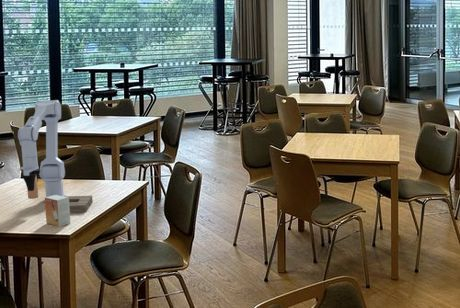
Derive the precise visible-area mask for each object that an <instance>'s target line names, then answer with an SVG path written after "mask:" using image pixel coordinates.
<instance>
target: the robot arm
mask: <svg viewBox="0 0 460 308" xmlns="http://www.w3.org/2000/svg"><path fill="white" fill-rule="evenodd" d="M34 110H35V111H34V114H33V115H32V116H29V118H28V120H27V121H26V122H25V124H24V126H21V127H19V129H18V131H17V139H18V140H19V145H20V146H21V157H22V166H21V167H20V168H19V169H20V170H23V173H22V174H21V178H22V179H23V181H24V182H25V185H26V190H27V189H28V191H34V183H35V177H36V175H37V183H38V180H39V177H40V179H41V180H42V181H43V182H44V190H45V197H49V196H53V195H59V196H67V195H66V194H64V185H63V184H64V183H63V181H62V180H63V179H64V178H65V176H66V170H65V169H66V168H65V162H64V161H63V160H61V159H60V158H59V157H58V151H59V150H58V148H59V147H58V144H59V141H58V132H59V131H58V126H59V125H58V122H59V120H61V119H62V104H61V102H60V101H59V100H58V99H54V100H36V102H35V103H34ZM42 121H44V122H45V123H46V124H45V147H46V148H45V158H44V159H43V160H41V162H40V167H39V161H38V151H37V140H38V137H39V131H40V129H41V128H42V125H43V122H42ZM28 191H27V192H28ZM43 202H44V203H45V199H43Z"/></svg>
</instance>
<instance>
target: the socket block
mask: <svg viewBox="0 0 460 308" xmlns="http://www.w3.org/2000/svg"><path fill="white" fill-rule="evenodd" d="M63 197H69V208H70V214H72V213H75V214H76V213H86V212H88V210H89V208H90V207H91V206H92V204H93V203H94V202H93V195H66V196H63Z"/></svg>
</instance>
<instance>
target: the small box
mask: <svg viewBox="0 0 460 308" xmlns="http://www.w3.org/2000/svg"><path fill="white" fill-rule="evenodd" d="M44 200H45V202H44V209H45V220H46V221H45V222H46V224H48V225H53V226H55V225H56V226H55V227H58V226H60V227H63V226H66V224H67V225H69V224H71V213H70V208H69V197H63V196H59V195H53V196H49V197H46V196H45V197H44Z"/></svg>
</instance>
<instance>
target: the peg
mask: <svg viewBox="0 0 460 308" xmlns="http://www.w3.org/2000/svg"><path fill="white" fill-rule="evenodd" d="M26 190H27V199H28V200H29V199H30V200H32V199H38V198H39V189H38V182H37V175H36V177H35V183H34V191H28V189H27V188H26Z"/></svg>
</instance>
